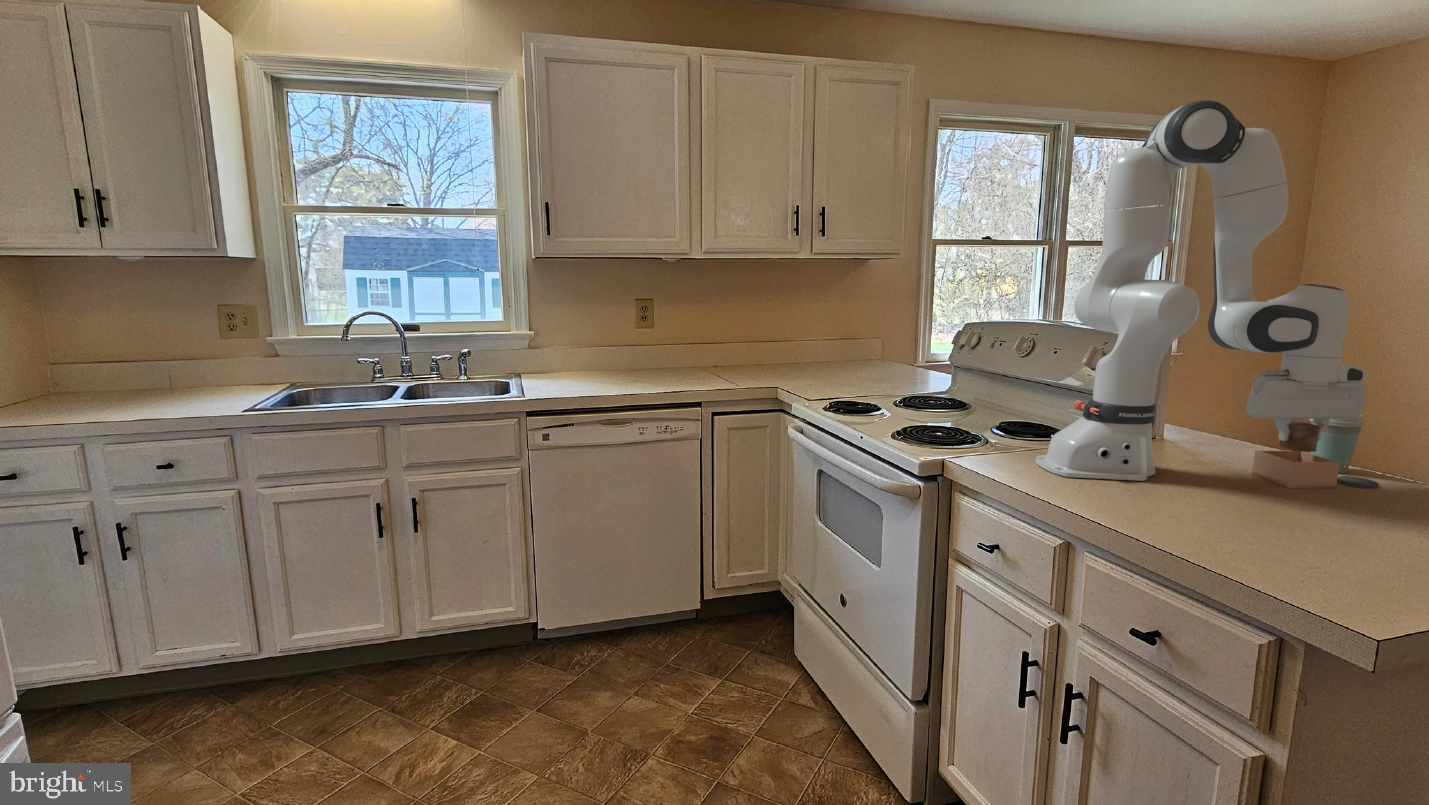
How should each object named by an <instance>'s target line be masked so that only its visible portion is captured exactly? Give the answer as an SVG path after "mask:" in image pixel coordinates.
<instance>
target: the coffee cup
mask: <svg viewBox="0 0 1429 805" xmlns="http://www.w3.org/2000/svg"><path fill="white" fill-rule="evenodd" d="M1308 420H1309V421H1310V424H1313V425H1314V424H1315V423H1316V422H1313V419H1308ZM1364 423H1365V422H1364V420H1363V415H1362V414H1361V415H1360V416H1359V417H1358V418H1356V419H1330V421H1329V425H1328V426H1327V427H1326V428H1325V429H1324V431H1323V432H1321V437H1320V441H1318V442H1317V448H1316V452H1310V453H1311V454H1314V455H1317V456H1320V457H1324V458H1327V459H1330V460H1333V461H1337V462H1340V465H1339V471H1338V474H1346V473H1347V472H1348V471H1349V467H1350V464H1351V461H1352V458H1353V455H1354V452H1355V449H1356V445H1357V443H1358V440H1359V437H1360V434H1361V431H1362V427H1365V425H1364ZM1344 466H1345V467H1344Z"/></svg>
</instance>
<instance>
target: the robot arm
mask: <svg viewBox="0 0 1429 805" xmlns="http://www.w3.org/2000/svg"><path fill="white" fill-rule="evenodd" d="M1143 142H1144V143H1143V144H1142V146H1141V147H1135V148H1131V149H1129V150H1126V151H1124V152H1122V153H1120V154H1119V155H1117V156H1116V157H1115V159H1113V161H1112V162H1111V165H1110V167H1109V172H1108V175H1107V180H1106V187H1105V192H1104V193H1105V195H1104V204H1103V205H1104V207H1103V208H1104V209H1103V232H1102V246H1101V253H1100V256H1099V260H1098V263H1097V266H1096V268H1095V270H1094V273H1093V275H1092V277H1091V279H1090V280H1089V281H1088V282H1087V283H1086V285H1084V286H1083V287H1082V288H1081V289H1080V290H1079V291H1078V293H1077V295H1076V297H1075V300H1074V312H1075V313H1074V314H1075V316H1076V317H1077V319H1078V321H1079V322H1080V323H1082V325H1085V326H1087V327H1089V328H1092V329H1095V330H1097V331H1098V332H1099V331H1100V332H1106V333H1113V334H1118V336H1117V339H1116V342H1115V344H1114V346H1113V349H1111V350H1110V352H1109V353H1108V354H1105V355H1103V356H1102V357H1101V358H1100V359H1098V361H1097V363H1096V365H1095V371H1094V372H1095V373H1094V380H1093V381H1094V382H1093V389H1092V390H1093V391H1092V398H1091V399H1090V400H1089V401H1088V402H1087V403H1086V402H1084V401H1081V400H1079V399H1077V400H1074V402H1073V404H1072V408H1073V409H1074V410H1078V411H1079V412H1083V413H1082V417H1080V418H1078V419H1076V420H1075V421H1074V422H1072V423H1071V424H1069V425H1068V426H1066V427H1064V428H1063V429H1062V428H1061V429H1060V430H1059V431H1057V432H1056V433H1054V434H1053V436H1052V437H1051V439H1050V441H1049V445H1048V450H1047V453H1046V454H1040V455H1037V456H1036V457H1035V463H1036V464H1037V465H1038V466H1039V467H1041V468H1042V469H1044V470H1046V471H1048V472H1050V473H1053V474H1055V475H1058V476H1063V477H1065V478H1066V477H1067V478H1080V479H1081V478H1082V479H1097V480H1098V479H1104V480H1117V481H1119V480H1120V481H1121V480H1122V481H1137V482H1138V481H1140V482H1141V481H1142V482H1145V481H1147V480H1148V477H1151V476H1154V475H1155V474H1156V473H1157V472H1156V468H1155V463H1154V458H1153V441H1152V438H1153V429H1154V426H1155V422H1156V414H1157V412H1156V411H1157V405H1156V403H1155V399H1156V390H1157V384H1158V378H1159V372H1160V368H1161V364H1162V362H1163V360H1164V358H1165V355H1166V353H1167V352H1168V350H1169V349H1170V347H1171V345H1173V344H1174V342H1175V341H1176V340H1177V339H1178V338H1179V337H1180V336H1181V335H1183V334H1185V333H1186V332H1188V331H1189V330H1190V329H1191V328H1192V327H1193V326H1194V325H1195V323H1196V321H1197V320H1198V318H1199V315H1200V308H1201V306H1200V305H1201V304H1200V300H1199V297H1198V295H1197V293H1196V291H1195V290H1194V289H1193V288H1191V286H1188V285H1185V284H1182V283H1179V282H1174V281H1172V280H1171V281H1170V280H1168V279H1167V280H1166V279H1146V274H1147V271H1148V269H1149V266H1150V264H1151V263H1152V260H1154V258H1155V257H1157V256H1158V255H1160V254H1161V253H1162V252H1163V251H1164V250H1165V249H1166V248H1167V246H1168V244H1169V227H1170V224H1169V223H1170V203H1171V202H1170V199H1171V198H1170V197H1171V196H1170V195H1171V194H1170V193H1171V192H1170V191H1171V190H1170V188H1171V185H1172V181H1173V178H1174V176H1175V174H1176V173H1177V172H1178V171H1179V169H1182V168H1186V167H1187V168H1188V167H1193V166H1200V167H1202V168H1203V169H1204V170H1205V171H1206V172H1207V174H1208V176H1209V178H1210V179H1209V180H1210V182H1211V188H1212V198H1213V206H1214V208H1213V209H1214V220H1215V222H1214V223H1215V225H1214V226H1215V228H1214V236H1213V246H1212V248H1213V250H1212V251H1213V254H1212V255H1213V256H1212V257H1213V304H1212V306H1211V307H1212V308H1211V311H1210V314H1209V315H1208V316H1209V317H1208V321H1207V330H1208V333H1209V334H1208V335H1209V336H1210V338H1211V340H1213V342H1214V343H1215V344H1217V345H1218V346H1220V348H1223V349H1228V350H1238V351H1239V350H1242V351H1249V352H1254V353H1262V354H1275V353H1281V352H1282V356H1281V357H1282V358H1281V363H1280V369H1277V370H1269V369H1268V370H1267V369H1265V370H1262V371H1261V372H1260V373H1258V374H1256V376H1254V378H1253V380H1252V381H1253V382H1252V387H1251V390H1250V392H1249V395H1248V400H1247V403H1246V407H1245V408H1246V409H1245V410H1246V411H1245V412H1246V413H1247V414H1248V416H1249V417H1253V418H1256V419H1261V420H1263V419H1266V420H1267V419H1268V420H1269V419H1270V420H1272V419H1273V420H1274V424H1275V426H1276V429H1277V431H1278V437H1277V438H1278V440H1279V441H1280V440H1282V441H1292V439H1293V438H1292V437H1293V432H1289V429H1288V427H1287V424H1290V422H1291V419H1292V420H1293V419H1295V420H1296V419H1299V420H1300V419H1301V420H1303V419H1304V420H1305V419H1308V420H1309V419H1313V422H1316V423H1315V424H1314V425H1317V426H1320V430H1319V436H1318V441H1320V437H1321V432H1323V431H1324V429H1325V428H1326V427H1327V426H1328V425H1329V421H1330V419H1356V418H1358V417H1359V416H1360V415H1362V414H1363V412H1364V408H1365V402H1366V396H1367V395H1366V394H1367V390H1366V385H1365V384H1364V383H1363V382H1365V381H1366V380H1368V375H1369V374H1368V371H1367V370H1366V369H1362V368H1359V367H1355V366H1353V365H1350V364H1347V363H1343V357H1344V356H1343V355H1344V352H1343V345H1342V344H1343V342H1344V339H1345V337H1346V335H1347V332H1348V327H1349V326H1348V325H1349V320H1350V318H1349V317H1350V300H1349V295H1348V293H1347V291H1345V290H1344V289H1342V288H1339V287H1336V286H1331V285H1324V284H1316V283H1303V284H1299V285H1298V286H1297V287H1296V288H1294V289H1293V290H1291V291H1289V292H1287V293H1285V294H1283V295H1281V296H1279V297H1275V298H1273V299H1268V300H1267V301H1258V300H1257V299H1256V297H1255V296H1254V294H1253V293H1254V292H1253V256H1254V252H1255V250H1256V248H1257V247H1258V245H1259V244H1260V243H1261V242H1263V240H1264V239H1266V237H1268V236H1269V235H1270V234H1272V233H1274V232H1275V231H1276V230H1277V229H1278V228H1279V227H1280V226H1281V225H1282V224H1283V223H1284V221H1285V219H1286V217H1287V214H1288V209H1289V201H1290V200H1289V199H1290V198H1289V188H1288V183H1287V182H1288V180H1287V173H1286V167H1285V162H1284V159H1283V154H1282V152H1281V149H1280V146H1279V143H1278V140H1277V138H1276V136H1275V134H1274V133H1273V132H1272V131H1271V130H1269V129H1267V128H1262V127H1249V128H1246V127H1245V125H1243V124H1242V122H1241V121H1239V119H1238V118H1237V117H1236V116H1235V115H1234V114H1233V112H1232V111H1231V110H1230V109H1229V108H1228V107H1227V106H1226V105H1224V104H1223V103H1221V102H1219V101H1216V100H1212V99H1211V100H1209V99H1200V100H1194V101H1192V102H1189V103H1187V104H1184V105H1181V106H1178V107H1176V108H1175V109H1173V110H1172V111H1170V112H1168V113H1167V114H1166V115H1164V116H1163V117H1162V118H1161V119H1159V121H1158V122H1156V124H1155V125H1154V127H1153V128H1151V131H1150V132H1149V134H1148V136H1147V138H1146V139H1145V141H1143Z"/></svg>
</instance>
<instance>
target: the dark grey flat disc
mask: <svg viewBox="0 0 1429 805" xmlns="http://www.w3.org/2000/svg"><path fill="white" fill-rule="evenodd" d="M1337 483H1338V484H1340V485H1344V486H1348V487H1352V488H1357V489H1358V488H1359V489H1369V490H1370V489H1371V490H1372V489H1378V486H1379V482H1377V481H1375V480H1372V479H1368V478H1364V477H1358V476H1347V475H1343V476H1342V475H1338V477H1337Z"/></svg>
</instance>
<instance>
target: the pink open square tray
mask: <svg viewBox="0 0 1429 805" xmlns="http://www.w3.org/2000/svg"><path fill="white" fill-rule="evenodd" d="M1339 465H1340V462H1337V461H1333V460H1330V459H1327V458H1324V457H1320V456H1317V455H1314V454H1311V452H1295V451H1292V450H1289V449H1283V450H1279V449H1278V450H1276V449H1275V450H1274V449H1273V450H1269V449H1268V450H1267V449H1266V450H1261V449H1260V450H1258V449H1257V450H1254V456H1253V464H1252V470H1251V475H1252V476H1255V477H1259V478H1261V479H1263V480H1266V481H1269V482H1272V483H1274V484H1276V485H1279V486H1282V487H1285V488H1287V489H1311V488H1312V489H1331V488H1332V489H1335V488H1336V487H1337V483H1338V482H1337V477H1339V473H1338V471H1339Z"/></svg>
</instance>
